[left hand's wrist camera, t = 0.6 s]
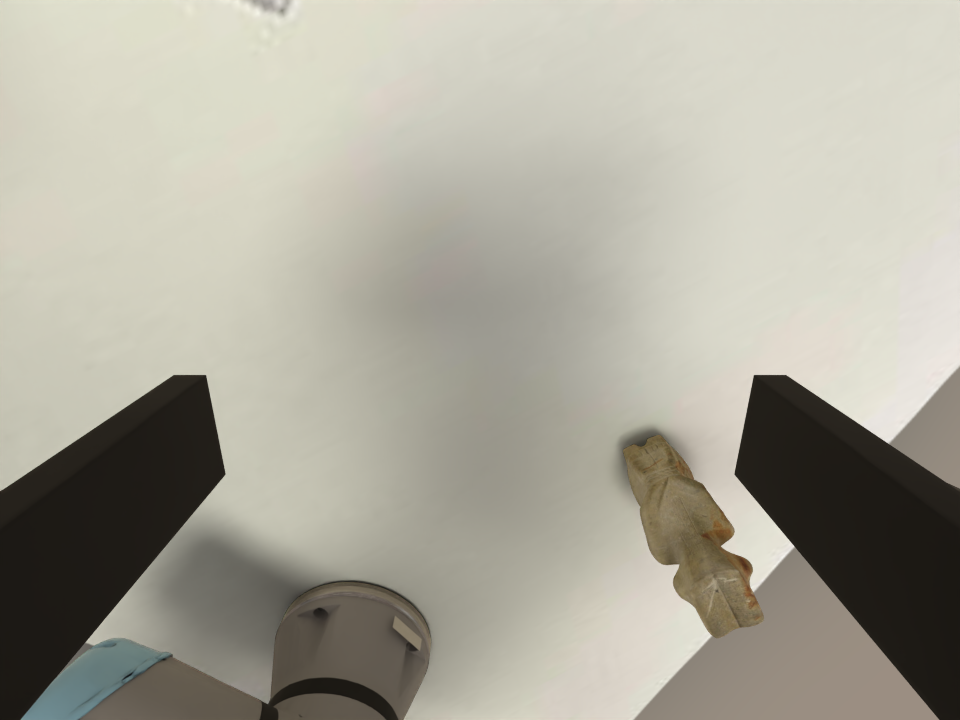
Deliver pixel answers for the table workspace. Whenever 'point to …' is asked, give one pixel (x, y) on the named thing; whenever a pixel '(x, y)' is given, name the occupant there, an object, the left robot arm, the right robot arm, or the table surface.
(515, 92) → the table surface
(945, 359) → the table surface
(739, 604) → the sculpture
